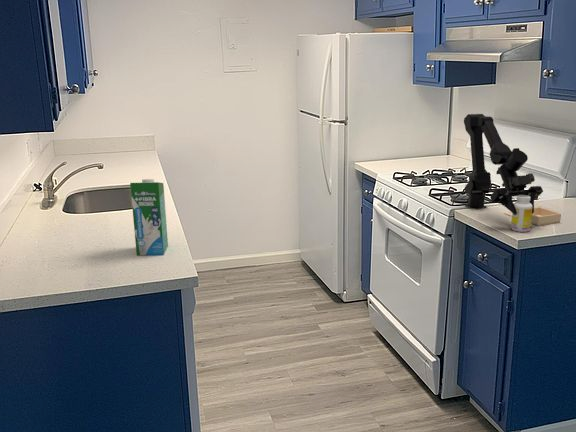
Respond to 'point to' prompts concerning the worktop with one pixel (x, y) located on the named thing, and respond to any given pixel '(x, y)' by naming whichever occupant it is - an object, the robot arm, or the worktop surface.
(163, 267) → the worktop surface
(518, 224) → the supplement bottle
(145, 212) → the milk carton
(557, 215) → the mailer box
